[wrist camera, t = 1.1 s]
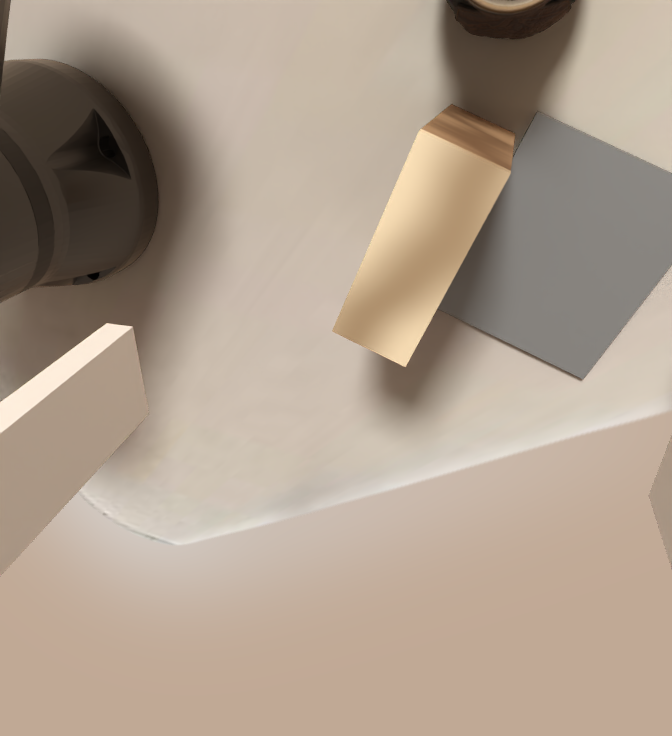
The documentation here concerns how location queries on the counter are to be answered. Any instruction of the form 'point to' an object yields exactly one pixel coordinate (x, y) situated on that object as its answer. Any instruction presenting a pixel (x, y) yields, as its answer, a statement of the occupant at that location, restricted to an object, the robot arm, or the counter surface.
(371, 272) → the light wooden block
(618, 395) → the counter surface
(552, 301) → the mat
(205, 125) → the counter surface
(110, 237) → the robot arm
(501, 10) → the mate gourd
